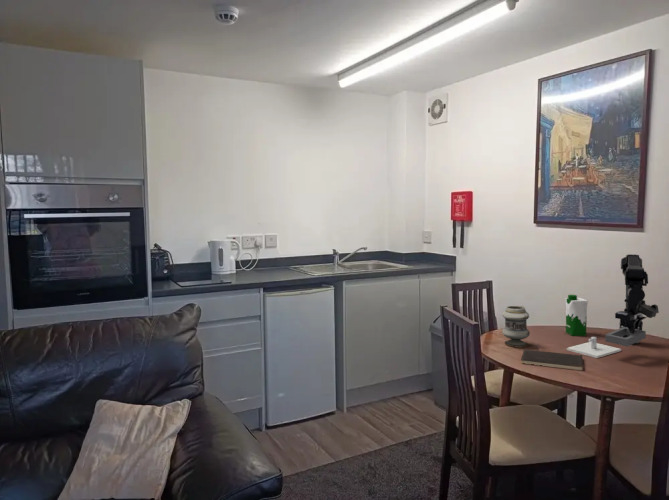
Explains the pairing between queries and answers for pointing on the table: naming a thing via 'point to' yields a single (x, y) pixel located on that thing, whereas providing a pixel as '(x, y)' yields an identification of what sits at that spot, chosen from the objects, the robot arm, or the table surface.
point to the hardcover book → (552, 359)
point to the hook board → (593, 349)
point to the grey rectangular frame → (631, 339)
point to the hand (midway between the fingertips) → (633, 333)
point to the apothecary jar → (515, 325)
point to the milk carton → (576, 315)
